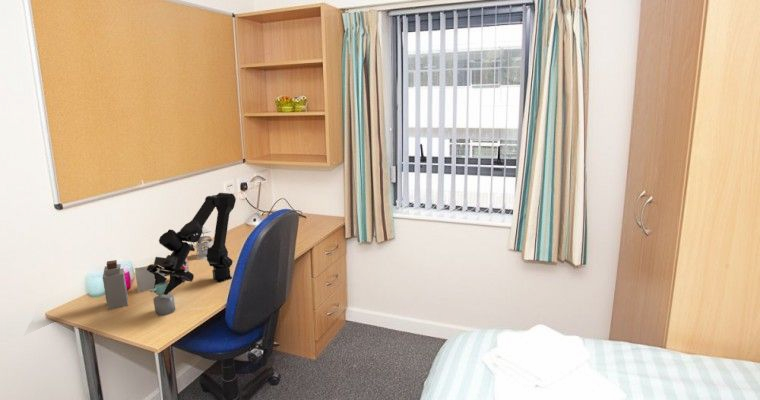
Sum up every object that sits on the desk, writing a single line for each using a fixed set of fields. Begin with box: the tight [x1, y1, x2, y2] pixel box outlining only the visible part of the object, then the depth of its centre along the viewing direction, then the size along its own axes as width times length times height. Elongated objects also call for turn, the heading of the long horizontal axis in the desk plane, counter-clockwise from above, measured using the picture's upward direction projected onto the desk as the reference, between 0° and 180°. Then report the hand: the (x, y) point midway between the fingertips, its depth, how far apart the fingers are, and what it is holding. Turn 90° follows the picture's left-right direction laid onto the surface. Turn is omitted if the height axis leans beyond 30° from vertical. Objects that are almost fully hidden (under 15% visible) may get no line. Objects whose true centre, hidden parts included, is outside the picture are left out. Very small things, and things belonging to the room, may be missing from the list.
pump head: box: [150, 281, 169, 298], centre depth 167 cm, size 7×5×5 cm, turn 160°
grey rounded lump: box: [153, 293, 176, 317], centre depth 170 cm, size 7×7×6 cm
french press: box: [190, 226, 213, 260], centre depth 226 cm, size 10×12×25 cm
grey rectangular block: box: [134, 265, 155, 293], centre depth 190 cm, size 4×7×10 cm, turn 118°
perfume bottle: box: [102, 259, 129, 310], centre depth 174 cm, size 7×7×18 cm
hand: (159, 293), depth 167 cm, fingers closed on pump head, 5 cm apart
